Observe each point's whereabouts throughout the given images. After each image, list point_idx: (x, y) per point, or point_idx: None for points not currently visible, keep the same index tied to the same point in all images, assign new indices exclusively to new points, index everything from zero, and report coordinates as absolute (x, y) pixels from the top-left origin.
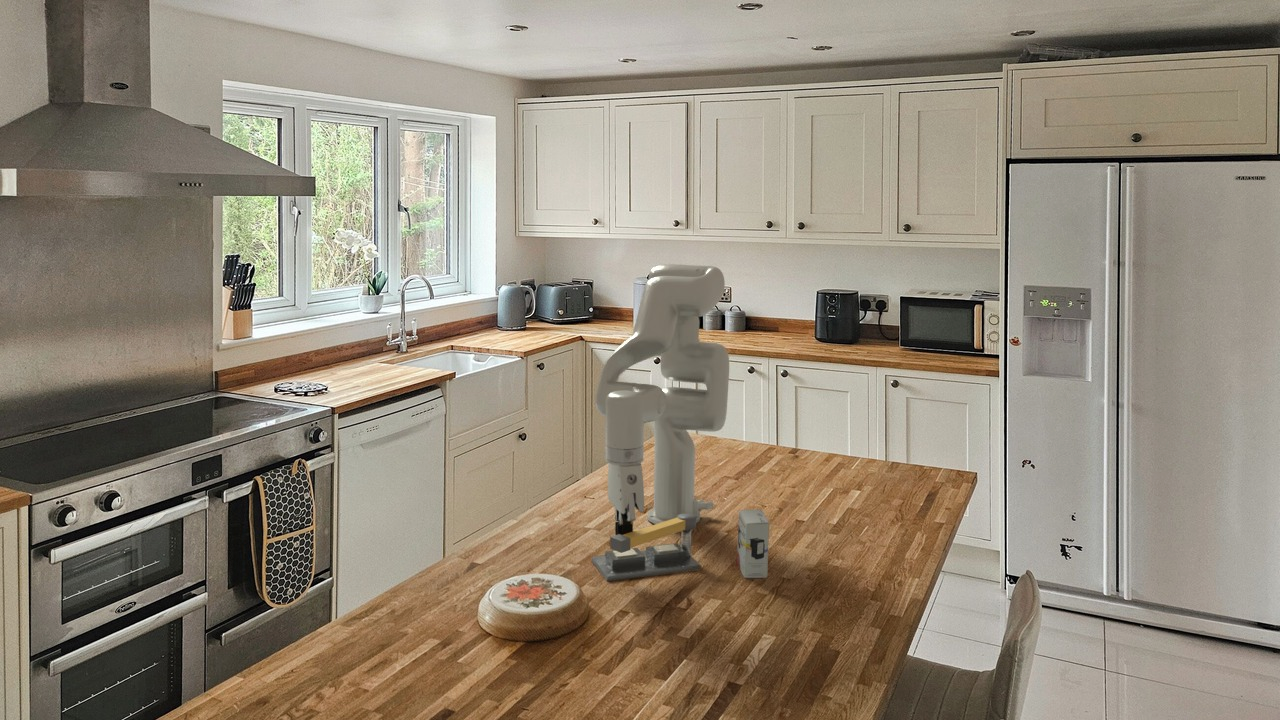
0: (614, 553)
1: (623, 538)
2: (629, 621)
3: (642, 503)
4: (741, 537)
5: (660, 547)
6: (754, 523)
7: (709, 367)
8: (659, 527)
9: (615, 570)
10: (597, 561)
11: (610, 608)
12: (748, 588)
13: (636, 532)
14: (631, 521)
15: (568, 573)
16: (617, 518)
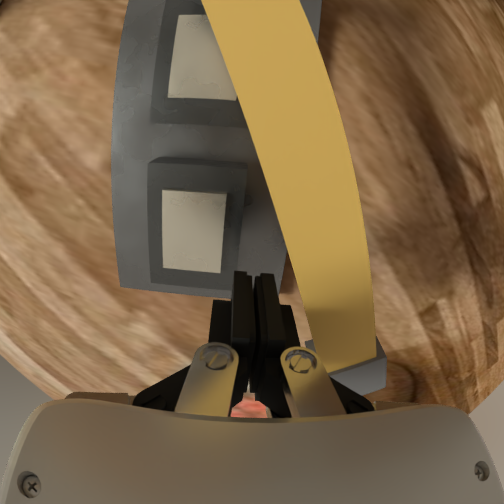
0: (188, 270)
1: (369, 377)
2: (455, 313)
3: (486, 463)
4: None
5: (193, 74)
6: None
7: None
8: (326, 134)
9: (245, 267)
10: (158, 286)
11: (402, 328)
12: (465, 6)
13: (331, 307)
14: (337, 382)
15: (188, 348)
16: (231, 411)
